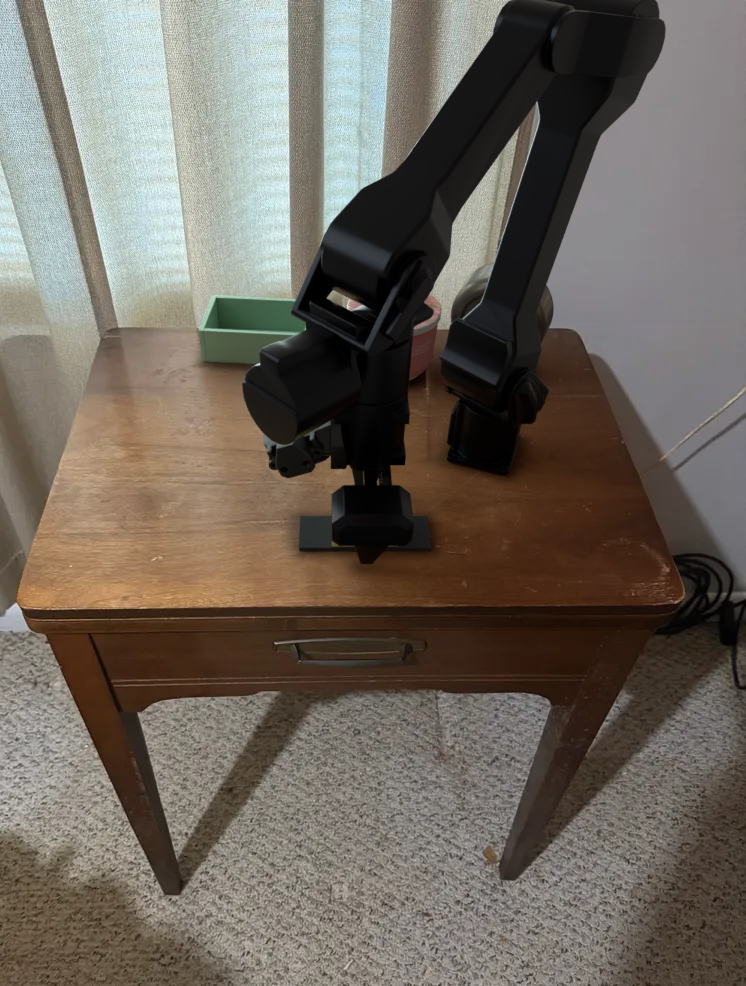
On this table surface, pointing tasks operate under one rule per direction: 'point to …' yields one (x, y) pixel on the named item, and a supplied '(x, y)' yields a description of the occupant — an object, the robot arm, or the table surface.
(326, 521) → the desk mat
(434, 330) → the container
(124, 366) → the table surface
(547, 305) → the alarm clock
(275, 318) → the storage box
